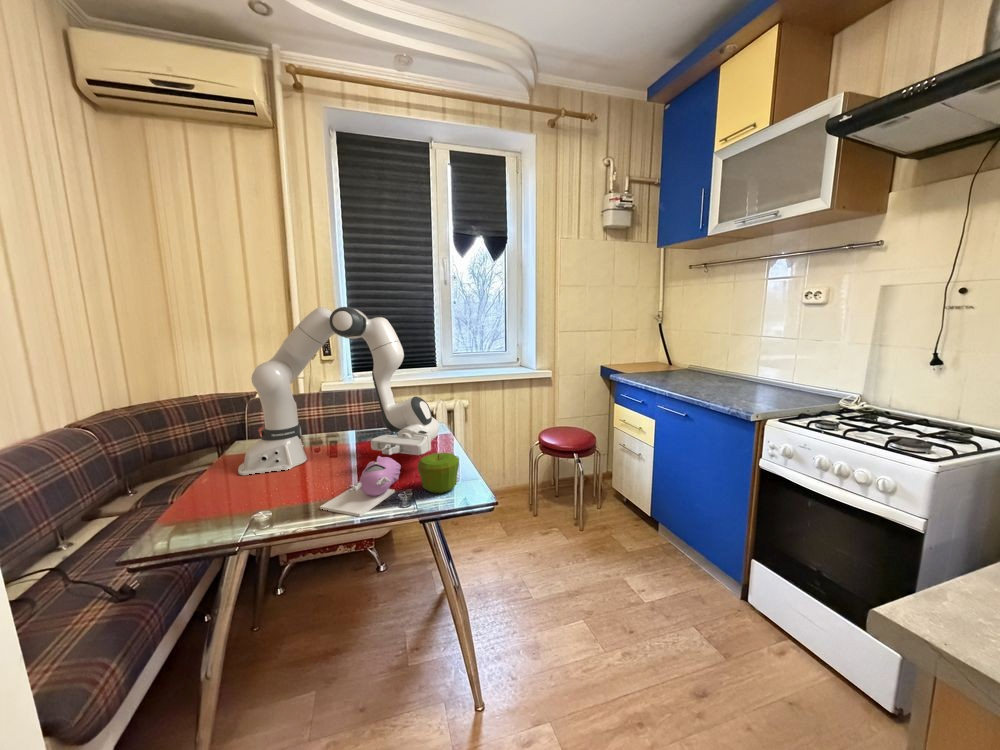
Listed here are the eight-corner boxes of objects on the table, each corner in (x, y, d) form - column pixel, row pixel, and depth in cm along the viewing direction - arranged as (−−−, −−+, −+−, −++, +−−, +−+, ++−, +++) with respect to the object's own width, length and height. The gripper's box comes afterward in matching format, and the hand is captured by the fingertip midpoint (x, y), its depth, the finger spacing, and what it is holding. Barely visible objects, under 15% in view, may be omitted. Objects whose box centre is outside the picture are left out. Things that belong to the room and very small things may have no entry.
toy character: (401, 450, 135) (384, 466, 115) (405, 481, 136) (389, 502, 116) (364, 455, 135) (341, 471, 115) (368, 486, 136) (346, 507, 116)
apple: (452, 477, 137) (450, 445, 135) (466, 491, 126) (464, 456, 125) (415, 486, 132) (412, 452, 130) (426, 501, 121) (424, 464, 119)
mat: (358, 486, 132) (357, 484, 132) (394, 492, 127) (394, 489, 127) (320, 509, 118) (319, 506, 118) (360, 516, 113) (359, 513, 113)
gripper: (384, 428, 150) (358, 440, 137) (433, 433, 143) (411, 445, 130) (385, 445, 151) (360, 458, 138) (434, 450, 144) (412, 465, 131)
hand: (385, 452), depth 134 cm, fingers closed
